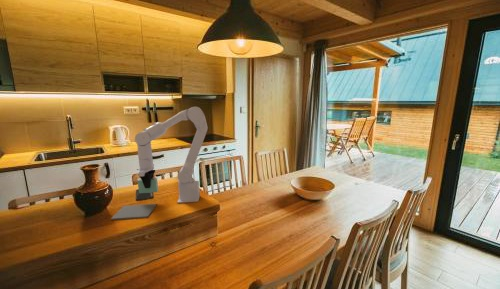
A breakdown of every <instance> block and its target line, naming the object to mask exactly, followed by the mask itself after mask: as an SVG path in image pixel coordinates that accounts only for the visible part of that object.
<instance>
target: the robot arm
mask: <svg viewBox="0 0 500 289" xmlns="http://www.w3.org/2000/svg"><path fill="white" fill-rule="evenodd" d="M205 115H206V114H205V113H204V111H203V110H202V109H201V108H200V107H199V106H191V107H190V108H188V109H187V108H186V109H185V110H181V111H179V112H178V113H177V114H175V115H173V116H172V117H170V118H168V119H167V120H165V121H163V122H160V121H157V122H153V123H152V125H150V126H149V127H147V128H143V129H142V130H143V131H138V133H137V134H136V135H134V141H135V143H136V146H137V156H138V164H139V165H138V166H139V167H137V168H136V170H137V171H138V178H139V179H141V180H142V182H143V184H144V187H145V188H150V186H151V179H152V178H154V175H155V173H156V169H155V164H154V159H153V150H152V149H153V148H152V141H154V140H156V139H158V138H160V137H161V136H164V135H165V134H166V132H167V130H168V129H169V128H171V127H172V126H174V125H176V124H178V123H180V122H181V121H188V120H189V121H191V122H192V123H193V126H194V127H195V129H196V132H195V134H194V136H193V140H192V141H191V142H192V143H191V146H190V147H189V150H188V154H187V155H186V158H185V161H184V164H183V166H182V167H181V168H180V169H179V172H178V174H177V180H178V181H177V183H178V194H179V195H178V199H177V202H176V203H179V204H180V203H181V204H182V203H196V202H197V203H198V202H199V199H200V197H201V191H200V181H199V180H195V178H194V177H193V174H194V167H195V165H196V161H197V160H198V157H199V154H200V151H201V148H202V145H203V143H204V140H205V137H206V135H207V132H208V128H209V127H208V124H207V120H206V116H205Z"/></svg>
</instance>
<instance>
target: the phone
mask: <svg viewBox="0 0 500 289" xmlns="http://www.w3.org/2000/svg"><path fill="white" fill-rule="evenodd" d="M153 198H154V192H151V193H139V189H136V190H135V201H136V202H139V201H145V200H151V199H153Z"/></svg>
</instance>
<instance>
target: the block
mask: <svg viewBox="0 0 500 289" xmlns="http://www.w3.org/2000/svg"><path fill="white" fill-rule="evenodd" d="M137 187H138V189H139V193H151V192H153V193H158V191H159V183H158V178H156V177H153V178H152V179H151V186H150V188H145V187H144V184H143V182H142V180H141V178H139V179H138V180H137ZM138 189H137V190H138Z"/></svg>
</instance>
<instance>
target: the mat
mask: <svg viewBox="0 0 500 289" xmlns="http://www.w3.org/2000/svg"><path fill="white" fill-rule="evenodd" d="M156 207H157V203H148V204H147V203H146V204H133V205H132V204H131V205H122V207H121V208H120V209H119V210H118V211H117V212H116V213H115V214H114V215H113V216H112V217H111V218H110V220H111V221H116V220H127V219H128V220H133V219H145V218H146V219H147V218H149V217H150V216H151V214H152V212H153V211H154V210H155V208H156Z"/></svg>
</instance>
